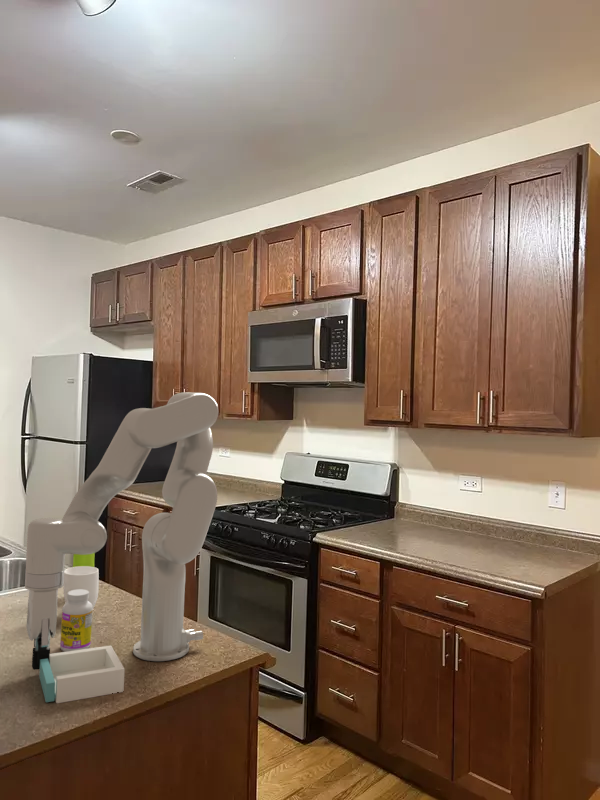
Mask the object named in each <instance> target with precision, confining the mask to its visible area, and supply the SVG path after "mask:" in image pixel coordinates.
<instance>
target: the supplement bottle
mask: <svg viewBox="0 0 600 800" xmlns="http://www.w3.org/2000/svg"><path fill="white" fill-rule="evenodd" d="M88 597H89V591H87V590H83V589H78V590H72V591H69V592H68V594H67V598H68V602H67V603H64V605H63V606H62V607H61V622H60V623H61V626H60V627H61V628H60V649H61V651H62V652H67V651H74V650H81V649H89V648H91V647H90V646H91V643H92V628H93V627H92V625H93V611H92V610H94V608H93V606H92V604H91V603H90V602H89V601H88Z"/></svg>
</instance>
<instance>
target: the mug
mask: <svg viewBox="0 0 600 800" xmlns="http://www.w3.org/2000/svg"><path fill="white" fill-rule="evenodd" d="M99 574H100V573H99V568H97V567H95V566H94V567H90V566H78V567H73V566H72V567H71V566H70V567H68V568H66V569H64V586H63V599H64V602H65V603H64V604H66V603H67V602H68V598H67V594H68V592H69V591H72V590H78V589H83V590H87V591H89V597H88V601H89V602H90V603H91V604H92V606H93V610H94V608H95V606H96V603H97V601H98V597H99V585H100V584H99V581H100V580H99V578H100V577H99ZM93 610H92V612H93Z"/></svg>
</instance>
